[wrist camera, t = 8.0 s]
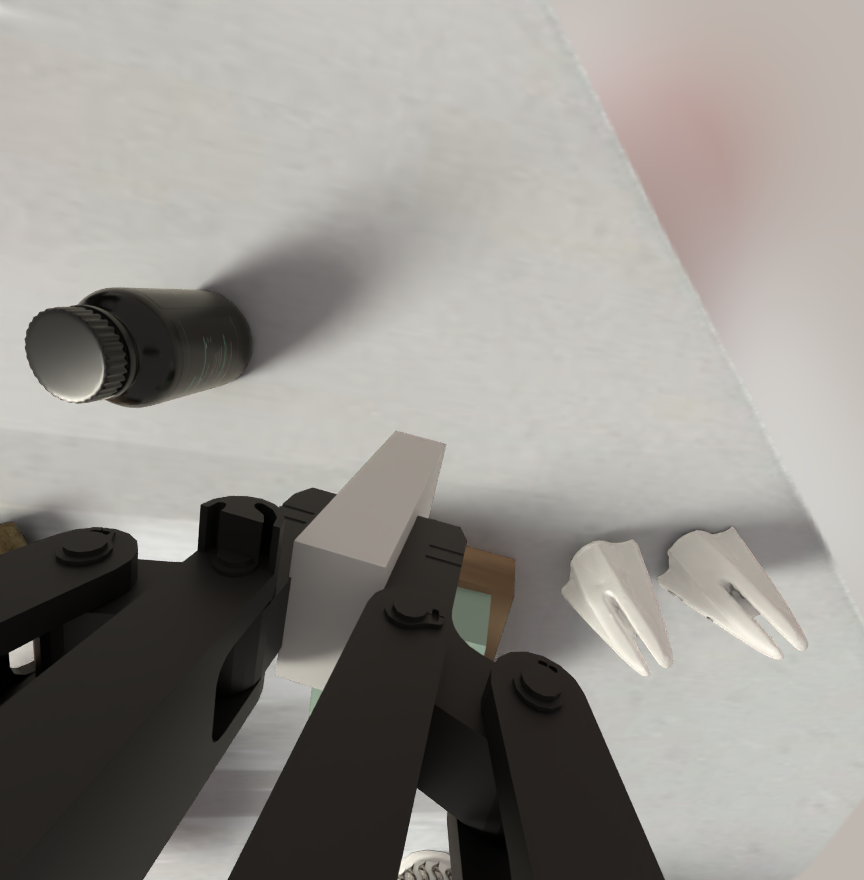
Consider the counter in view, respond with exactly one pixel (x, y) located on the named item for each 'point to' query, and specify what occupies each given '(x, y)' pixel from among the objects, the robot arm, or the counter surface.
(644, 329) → the counter surface
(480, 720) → the robot arm
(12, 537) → the stone block
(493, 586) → the walnut base block
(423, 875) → the decorative candle
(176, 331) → the supplement bottle
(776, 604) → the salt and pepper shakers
